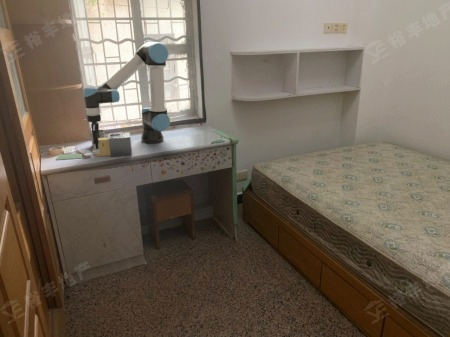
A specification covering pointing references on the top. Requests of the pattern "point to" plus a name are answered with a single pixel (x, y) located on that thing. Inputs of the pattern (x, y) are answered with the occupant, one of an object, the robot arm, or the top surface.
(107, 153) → the yellow rectangular block
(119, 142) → the dispenser
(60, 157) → the pad
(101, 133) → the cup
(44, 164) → the top surface
